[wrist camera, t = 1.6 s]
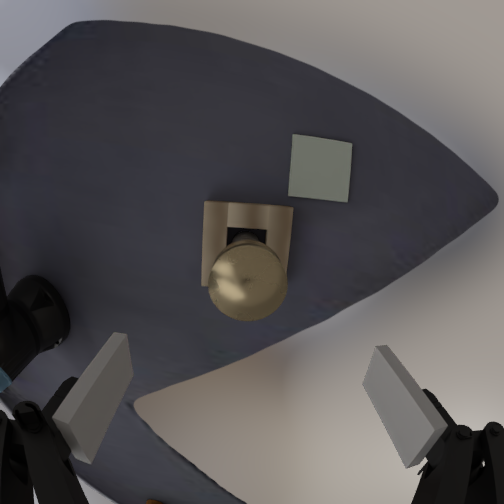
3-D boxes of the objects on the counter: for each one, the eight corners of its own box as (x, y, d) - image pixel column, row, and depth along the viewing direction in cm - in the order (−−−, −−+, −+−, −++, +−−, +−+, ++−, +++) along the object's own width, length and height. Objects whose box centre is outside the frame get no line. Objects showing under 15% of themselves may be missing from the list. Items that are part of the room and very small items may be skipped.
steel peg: (220, 265, 42) (207, 318, 25) (223, 218, 40) (209, 244, 24) (267, 268, 42) (282, 322, 26) (271, 222, 40) (291, 249, 24)
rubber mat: (287, 195, 40) (288, 195, 39) (292, 134, 37) (293, 134, 37) (346, 202, 40) (347, 202, 39) (350, 143, 38) (352, 143, 37)
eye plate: (203, 280, 42) (201, 285, 40) (206, 200, 39) (204, 201, 37) (282, 284, 43) (284, 290, 40) (290, 206, 40) (293, 207, 37)
